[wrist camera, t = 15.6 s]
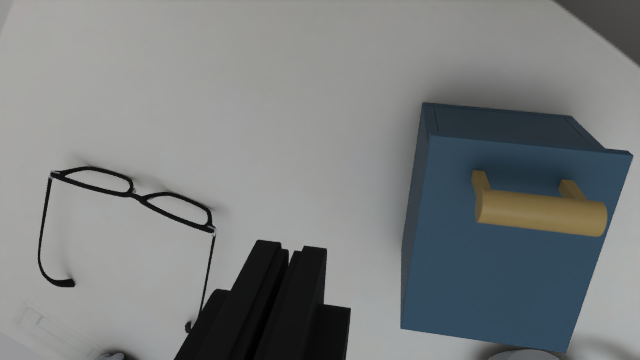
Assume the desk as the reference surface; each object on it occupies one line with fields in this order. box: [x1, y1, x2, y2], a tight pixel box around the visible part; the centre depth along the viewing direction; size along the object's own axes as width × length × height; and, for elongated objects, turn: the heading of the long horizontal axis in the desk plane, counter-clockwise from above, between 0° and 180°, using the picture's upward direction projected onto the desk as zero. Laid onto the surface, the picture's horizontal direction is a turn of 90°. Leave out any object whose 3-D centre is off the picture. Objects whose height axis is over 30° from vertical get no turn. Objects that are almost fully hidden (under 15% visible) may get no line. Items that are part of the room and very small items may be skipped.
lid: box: [400, 131, 633, 353], centre depth 29 cm, size 14×11×6 cm
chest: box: [401, 102, 605, 315], centre depth 36 cm, size 14×11×10 cm
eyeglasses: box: [38, 166, 216, 333], centre depth 47 cm, size 16×16×4 cm
